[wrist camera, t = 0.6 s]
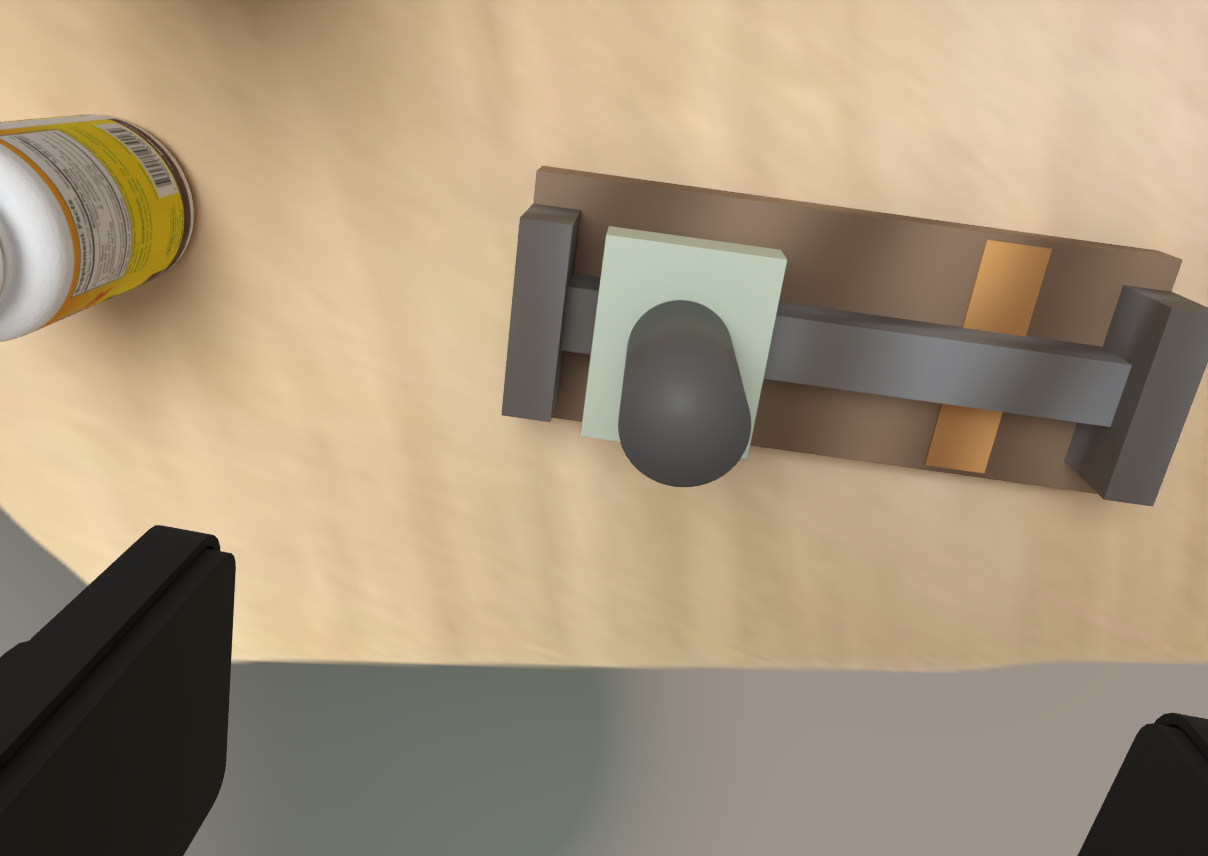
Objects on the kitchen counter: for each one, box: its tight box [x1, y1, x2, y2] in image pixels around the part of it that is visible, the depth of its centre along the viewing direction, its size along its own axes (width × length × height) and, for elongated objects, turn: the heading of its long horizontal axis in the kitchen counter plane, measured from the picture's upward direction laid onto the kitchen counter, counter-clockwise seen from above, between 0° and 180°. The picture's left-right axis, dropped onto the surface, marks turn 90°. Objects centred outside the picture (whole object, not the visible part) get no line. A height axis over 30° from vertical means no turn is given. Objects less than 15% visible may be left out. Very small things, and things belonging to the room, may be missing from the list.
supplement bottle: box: [0, 115, 194, 342], centre depth 27 cm, size 6×6×10 cm
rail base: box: [502, 166, 1208, 506], centre depth 30 cm, size 20×8×4 cm, turn 83°
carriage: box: [581, 226, 787, 487], centre depth 26 cm, size 5×6×10 cm
